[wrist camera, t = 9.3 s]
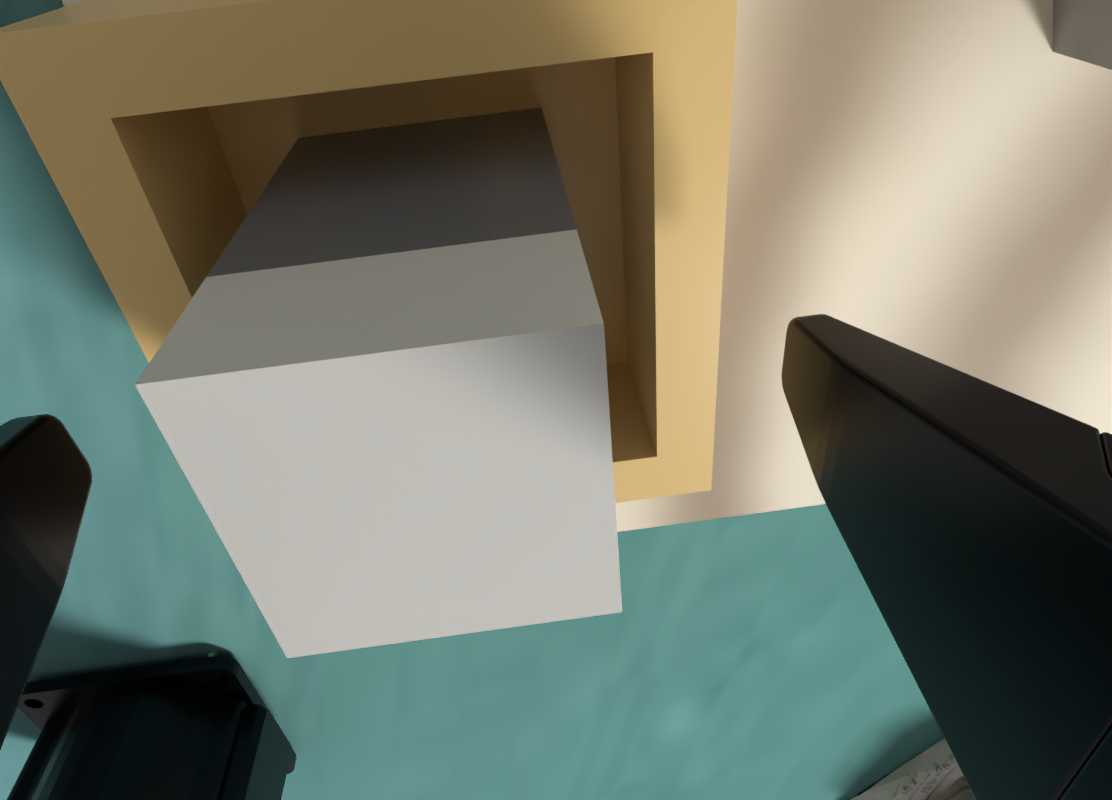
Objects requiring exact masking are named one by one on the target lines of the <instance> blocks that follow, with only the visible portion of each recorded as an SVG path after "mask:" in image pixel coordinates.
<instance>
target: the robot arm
mask: <svg viewBox="0 0 1112 800" xmlns="http://www.w3.org/2000/svg"><path fill="white" fill-rule="evenodd" d="M782 386H783V391H784V394H785V397H786V400H787V402H788V405H789V408H790V411H791V414H792V416H793V419H794V422H795V425H796V428H797V430H798V433H799V436H800V439H801V442H802V444H803V447H804V450H805V453H806V456H807V458H808V461H809V464H810V467H811V470H812V472H813V475H814V478H815V480H816V483H817V485H818V488H819V490H820V492H821V494H822V497H823V499H824V501H825V503H826V505H827V507H828V509H829V511H830V513H831V515H832V517H833V519H834V521H835V523H836V525H837V527H838V529H839V531H840V533H841V535H842V537H843V539H844V541H845V543H846V545H847V547H848V549H849V551H850V553H851V554H852V556H853V558H854V560H855V562H856V564H857V566H858V568H859V570H860V572H861V574H862V576H863V578H864V580H865V582H866V584H867V586H868V588H869V590H870V592H871V594H872V596H873V598H874V600H875V602H876V604H877V606H878V608H879V610H880V612H881V614H882V616H883V618H884V620H885V622H886V624H887V625H888V627H889V629H890V631H891V633H892V635H893V637H894V639H895V641H896V643H897V645H898V647H899V649H900V651H901V653H902V655H903V657H904V659H905V661H906V663H907V665H908V667H909V669H910V671H911V673H912V675H913V677H914V679H915V681H916V683H917V685H918V687H919V689H920V691H921V693H922V695H923V697H924V698H925V700H926V702H927V704H928V706H929V708H930V710H931V712H932V714H933V716H934V718H935V720H936V722H937V724H938V726H939V728H940V730H941V732H942V734H943V736H944V738H945V740H946V742H947V744H948V746H949V748H950V750H951V752H952V754H953V756H954V758H955V760H956V762H957V764H958V766H959V768H960V769H961V771H962V773H963V775H964V777H965V779H966V781H967V783H968V785H969V787H970V789H971V791H972V793H973V795H974V797H975V799H976V800H1112V434H1110V433H1108V432H1103V433H1101V434H1100V432H1099V430H1098V429H1097V428H1095V427H1093V426H1091V425H1088V424H1086V423H1084V422H1081V421H1079V420H1076V419H1074V418H1072V417H1069V416H1067V415H1064V414H1062V413H1060V412H1057V411H1055V410H1052V409H1050V408H1048V407H1045V406H1043V405H1041V404H1038V403H1036V402H1033V401H1031V400H1029V399H1026V398H1024V397H1021V396H1019V395H1017V394H1014V393H1012V392H1010V391H1007V390H1005V389H1002V388H1000V387H998V386H995V385H993V384H990V383H988V382H986V381H983V380H981V379H979V378H976V377H974V376H971V375H969V374H967V373H964V372H962V371H959V370H957V369H955V368H952V367H950V366H948V365H945V364H943V363H940V362H938V361H936V360H933V359H931V358H928V357H926V356H924V355H921V354H919V353H917V352H914V351H912V350H909V349H907V348H905V347H902V346H900V345H898V344H895V343H893V342H890V341H888V340H886V339H883V338H881V337H878V336H876V335H874V334H871V333H869V332H867V331H864V330H862V329H859V328H857V327H855V326H852V325H850V324H848V323H845V322H843V321H840V320H838V319H836V318H833V317H831V316H828V315H826V314H816V315H809V316H801V317H795V318H793V319H792V320H791V321H790V322H789V324H788V327H787V332H786V340H785V348H784V357H783V365H782ZM91 483H92V474H91V469H90V466H89V463H88V462H87V460H86V458H85V457H84V455H83V454H82V452H81V451H80V449H79V448H78V446H77V445H76V443H75V442H74V440H73V439H72V437H71V436H70V434H69V432H68V431H67V429H66V428H65V426H64V425H63V424H62V422H61V421H60V420H59V419H57V418H56V417H54V416H52V415H48V414H44V415H35V416H27V417H19V418H15V419H12V420H10V421H8V422H6V423H4V424H3V425H1V426H0V749H1V747H2V744H3V742H4V739H5V737H6V734H7V732H8V729H9V727H10V724H11V721H12V719H13V716H14V714H15V711H16V709H17V706H18V707H19V708H20V709H21V710H22V711H23V712H24V713H25V714H26V715H27V716H28V717H29V718H30V719H31V720H32V721H33V722H34V723H35V724H36V725H37V726H38V727H39V728H40V729H41V730H42V731H41V733H40V735H39V737H38V739H37V741H36V743H35V745H34V747H33V749H32V751H31V753H30V755H29V757H28V759H27V761H26V763H25V765H24V767H23V769H22V770H21V772H20V774H19V776H18V778H17V780H16V782H15V784H14V786H13V788H12V790H11V792H10V794H9V796H8V798H7V800H281V797H282V792H283V787H284V783H285V778H286V774H289V773H291V772H292V771H293V770H294V767H295V762H296V754H295V752H294V750H293V749H292V747H291V745H290V743H289V742H288V740H287V738H286V737H285V735H284V734H283V732H282V730H281V729H280V727H279V726H278V724H277V722H276V721H275V719H274V718H273V716H272V714H271V713H270V711H269V710H268V709H267V707H266V706H265V704H264V703H263V701H262V699H261V698H260V696H259V695H258V693H257V691H256V690H255V688H254V687H253V685H252V683H251V682H250V680H249V679H248V677H247V675H246V674H245V672H244V671H243V669H242V667H241V666H240V664H239V663H238V662H237V661H236V660H233V659H231V658H228V657H212V658H204V659H197V660H190V661H182V662H175V663H167V664H160V665H153V666H145V667H138V668H131V669H123V670H116V671H109V672H101V673H94V674H87V675H79V676H72V677H65V678H57V679H50V680H42V681H35V682H30V683H27V681H28V678H29V676H30V673H31V671H32V668H33V665H34V663H35V660H36V658H37V655H38V653H39V650H40V648H41V645H42V643H43V640H44V637H45V635H46V632H47V630H48V627H49V625H50V622H51V620H52V617H53V615H54V612H55V609H56V607H57V604H58V601H59V598H60V596H61V593H62V590H63V587H64V583H65V580H66V577H67V573H68V570H69V566H70V562H71V558H72V555H73V551H74V547H75V543H76V540H77V536H78V532H79V528H80V525H81V521H82V517H83V514H84V510H85V506H86V502H87V499H88V495H89V491H90V487H91Z"/></svg>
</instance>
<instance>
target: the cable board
mask: <svg viewBox="0 0 1112 800" xmlns="http://www.w3.org/2000/svg"><path fill="white" fill-rule="evenodd" d="M80 1H83V0H62V2H63V4H64V7H65V6H68V5H71V4H74V3H77V2H80ZM816 314H826V315H828V316H831V317H833V318H836V319H838V320H840V321H843V322H845V323H848V324H850V325H852V326H855V327H857V328H859V329H862V330H864V331H867V332H869V333H871V334H874V335H876V336H878V337H881V338H883V339H886V340H888V341H890V342H893V343H895V344H898V345H900V346H902V347H905V348H907V349H909V350H912V351H914V352H917V353H919V354H921V355H924V356H926V357H928V358H931V359H933V360H936V361H938V362H940V363H943V364H945V365H948V366H950V367H952V368H955V369H957V370H959V371H962V372H964V373H967V374H969V375H971V376H974V377H976V378H979V379H981V380H983V381H986V382H988V383H990V384H993V385H995V386H998V387H1000V388H1002V389H1005V390H1007V391H1010V392H1012V393H1014V394H1017V395H1019V396H1021V397H1024V398H1026V399H1029V400H1031V401H1033V402H1036V403H1038V404H1041V405H1043V406H1045V407H1048V408H1050V409H1052V410H1055V411H1057V412H1060V413H1062V414H1064V415H1067V416H1069V417H1072V418H1074V419H1076V420H1079V421H1081V422H1084V423H1086V424H1088V425H1091V426H1093V427H1095V428H1097V429H1098V430H1099V432H1100V434H1101V433H1103V432H1108V433H1110V434H1112V70H1110V69H1107V68H1104V67H1101V66H1097V65H1094V64H1091V63H1088V62H1084V61H1081V60H1078V59H1075V58H1071V57H1068V56H1065V55H1062V54H1058V53H1055V52H1053V0H737V18H736V36H735V55H734V74H733V93H732V112H731V130H730V149H729V168H728V187H727V205H726V224H725V243H724V262H723V280H722V299H721V318H720V337H719V356H718V374H717V393H716V412H715V431H714V449H713V468H712V487H711V490H709V491H702V492H694V493H687V494H679V495H672V496H664V497H657V498H649V499H642V500H634V501H627V502H619V503H615V506H616V522H617V532H620V531H627V530H635V529H642V528H649V527H657V526H664V525H672V524H679V523H687V522H694V521H702V520H709V519H717V518H724V517H732V516H739V515H746V514H754V513H761V512H769V511H776V510H784V509H791V508H799V507H806V506H814V505H821V504H826V503H825V501H824V499H823V497H822V494H821V492H820V490H819V488H818V485H817V483H816V480H815V478H814V475H813V472H812V470H811V467H810V464H809V461H808V458H807V456H806V453H805V450H804V447H803V444H802V442H801V439H800V436H799V433H798V430H797V428H796V425H795V422H794V419H793V416H792V414H791V411H790V408H789V405H788V402H787V400H786V397H785V394H784V391H783V386H782V365H783V357H784V348H785V340H786V332H787V327H788V324H789V322H790V321H791V320H792V319H793V318H795V317H801V316H809V315H816Z"/></svg>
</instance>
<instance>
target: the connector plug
mask: <svg viewBox="0 0 1112 800" xmlns="http://www.w3.org/2000/svg"><path fill="white" fill-rule="evenodd" d="M135 386H136V388H137V389H138V391H139V393H140V395H141V397H142V398H143V400H144V402H145V404H146V406H147V407H148V409H149V411H150V413H151V414H152V416H153V418H154V420H155V422H156V423H157V425H158V427H159V429H160V431H161V432H162V434H163V436H164V438H165V440H166V441H167V443H168V445H169V447H170V449H171V450H172V452H173V454H174V456H175V458H176V459H177V461H178V463H179V465H180V467H181V468H182V470H183V472H184V474H185V476H186V477H187V479H188V481H189V483H190V485H191V486H192V488H193V490H194V492H195V494H196V495H197V497H198V499H199V501H200V503H201V504H202V506H203V508H204V510H205V512H206V513H207V515H208V517H209V519H210V521H211V522H212V524H213V526H214V528H215V529H216V531H217V533H218V535H219V537H220V538H221V540H222V542H223V544H224V546H225V547H226V549H227V551H228V553H229V555H230V556H231V558H232V560H233V562H234V564H235V565H236V567H237V569H238V571H239V573H240V574H241V576H242V578H243V580H244V582H245V583H246V585H247V587H248V589H249V591H250V592H251V594H252V596H253V598H254V600H255V601H256V603H257V605H258V607H259V609H260V610H261V612H262V614H263V616H264V618H265V619H266V621H267V623H268V625H269V627H270V628H271V630H272V632H273V634H274V635H275V637H276V639H277V641H278V643H279V644H280V646H281V648H282V650H283V652H284V653H285V655H286V657H287V658H292V657H300V656H307V655H314V654H321V653H329V652H336V651H343V650H350V649H358V648H365V647H372V646H379V645H387V644H394V643H401V642H408V641H416V640H423V639H430V638H437V637H445V636H452V635H459V634H466V633H474V632H481V631H488V630H495V629H503V628H510V627H517V626H524V625H532V624H539V623H546V622H553V621H561V620H568V619H575V618H582V617H589V616H597V615H604V614H611V613H618V612H622V600H621V584H620V569H619V553H618V537H617V522H616V506H615V491H614V475H613V459H612V444H611V428H610V412H609V397H608V381H607V365H606V350H605V334H604V322H603V319H602V315H601V312H600V308H599V305H598V301H597V298H596V295H595V291H594V288H593V284H592V281H591V277H590V274H589V270H588V267H587V263H586V260H585V256H584V253H583V249H582V246H581V243H580V239H579V236H578V232H577V229H576V225H575V222H574V218H573V215H572V211H571V208H570V204H569V201H568V197H567V194H566V191H565V187H564V184H563V180H562V177H561V173H560V170H559V166H558V163H557V159H556V156H555V152H554V149H553V145H552V142H551V139H550V135H549V132H548V128H547V125H546V121H545V118H544V114H543V111H542V107H540V108H532V109H524V110H516V111H508V112H500V113H492V114H484V115H476V116H468V117H460V118H452V119H444V120H436V121H428V122H420V123H412V124H404V125H397V126H389V127H381V128H373V129H365V130H357V131H349V132H341V133H333V134H325V135H317V136H309V137H301V138H298V139H297V141H296V142H295V144H294V145H293V147H292V148H291V150H290V151H289V153H288V154H287V156H286V157H285V159H284V160H283V162H282V163H281V165H280V166H279V168H278V169H277V171H276V172H275V174H274V175H273V177H272V178H271V180H270V181H269V183H268V184H267V186H266V187H265V189H264V190H263V192H262V193H261V195H260V197H259V198H258V200H257V201H256V203H255V204H254V206H253V207H252V209H251V210H250V212H249V213H248V215H247V216H246V218H245V219H244V221H243V222H242V224H241V225H240V227H239V228H238V230H237V231H236V233H235V234H234V236H233V237H232V239H231V240H230V242H229V243H228V245H227V246H226V248H225V249H224V251H223V252H222V254H221V255H220V257H219V258H218V260H217V261H216V263H215V264H214V266H213V268H212V269H211V271H210V272H209V274H208V275H207V277H206V278H205V280H204V281H203V283H202V284H201V286H200V287H199V289H198V290H197V292H196V293H195V295H194V296H193V298H192V299H191V301H190V302H189V304H188V305H187V307H186V308H185V310H184V311H183V313H182V314H181V316H180V317H179V319H178V320H177V322H176V323H175V325H174V326H173V328H172V329H171V331H170V332H169V334H168V336H167V337H166V339H165V340H164V342H163V343H162V345H161V346H160V348H159V349H158V351H157V352H156V354H155V355H154V357H153V358H152V360H151V361H150V363H149V364H148V366H147V367H146V369H145V370H144V372H143V373H142V375H141V376H140V378H139V379H138V381H137V382H136V384H135Z"/></svg>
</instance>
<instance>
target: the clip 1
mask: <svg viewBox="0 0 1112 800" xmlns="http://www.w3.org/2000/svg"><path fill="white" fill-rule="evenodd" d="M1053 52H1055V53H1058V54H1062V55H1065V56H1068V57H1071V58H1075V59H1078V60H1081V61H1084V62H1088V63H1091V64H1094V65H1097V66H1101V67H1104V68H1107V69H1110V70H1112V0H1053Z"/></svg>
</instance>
